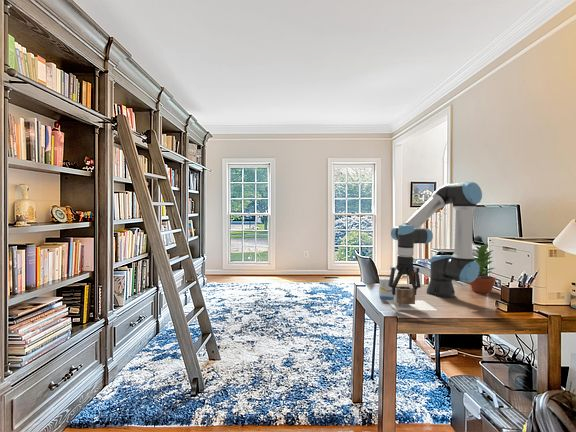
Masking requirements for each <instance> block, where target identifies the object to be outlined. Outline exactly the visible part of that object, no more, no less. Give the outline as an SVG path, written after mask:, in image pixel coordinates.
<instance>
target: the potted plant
mask: <svg viewBox="0 0 576 432" xmlns="http://www.w3.org/2000/svg"><path fill="white" fill-rule="evenodd" d="M488 247H489V243H487V244H481V245H480V246H477V245H475V248H476V249H477V250H476V249H474V252H476V253H477V255H476V254H475V253H474V252H472V255H473V256H474V255H475V256H474V257H475V262H477V263H478V265H479V268H480V271H479V275H478V277H477V278H476V279H475V280H474V281H473V282H470V285H471V291H472V292H474V293H475V292H476V293H480V294H491V293H492V291H493V288H494V284H495V282H496V279H497V278H496V277H494V276H490V275H488V274H490V273H491V272H493V270H494V269H496V267H490V268H485V267H486V266H488V265H490V264H492V262H494V260H490V259H492V258H493V256H491V255H492V252H494V250H495V249H494V250H493V249H492V250H489V251H487V250H488Z"/></svg>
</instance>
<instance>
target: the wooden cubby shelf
mask: <svg viewBox="0 0 576 432" xmlns="http://www.w3.org/2000/svg"><path fill="white" fill-rule="evenodd" d="M396 288H397V303H398V304H415V300H416V295H415V289H413V287H411V286H409V285H397V286H396ZM393 300H394V295H393Z"/></svg>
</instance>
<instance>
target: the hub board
mask: <svg viewBox="0 0 576 432" xmlns="http://www.w3.org/2000/svg"><path fill="white" fill-rule="evenodd" d="M385 301H386V302H387V303H388V304H389V305H390V306H392V307H391V309H392V310H393V311H394V312H395V313H404V311H436V312H437V311H438V309H436V308H435V307H434V306H432V305H430V304H429V303H427V302H426V301H425V300H418V299H417V300H416V299H415V304H398V303H397V302H395V301H394V300H392V299H385Z"/></svg>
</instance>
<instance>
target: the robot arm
mask: <svg viewBox="0 0 576 432" xmlns="http://www.w3.org/2000/svg"><path fill="white" fill-rule="evenodd" d="M482 198H483V192H482V188H481V187H480V186H479V184H478V183H477V182H474V181H464V182H448V183H446V184H444V185H441V186H440V187H438V188H437V189H436V190H434V191H433V192H432V193H431V194H430V195H429V196H428V199H427V200H426V202H424V203H423V204H422V205H421V206H420V207H419V208H418V209H417V210H416V211H415V212H414V213H412V214H411V215H410V216H409V217H408V218H407V219H405V220H404V222H403V223H402V224H399V225H398V226H394V227H392V229H391V231H390V236H391V238H392V239H393V240H395V241H397V253H396V255H397V256H396V257H397V259H396V262H397V263H396V265H395V266H390V276H389V277H390V279H389V284H388V286H389V287H392V294H393V295H394V301H395V302H397V288H396V286H398V284H399V282H400V280H401V278H402V276H404V275H406V276H408V279H409V281H410V283H411V284H410V285H411V286H412V288H413V289H415V296H417V292H418V291H417V290H418V289H420V288H421V287H422V286H421V280H420V273H419V272H420V268H419V267H417V266H414V247H415V245H416V244H425V245H426V244H429V243H431V242H432V240H433V238H434V237H433V231H432V230H431V229H430V228H425V227H424V228H423V227H422V226H423V225H424V223H426V222H427V221H428V220H429V218H431V217H432V216H433V215H434V214H435V213H436V212H437V211H438V210H439V209H442V208H443V207H445V206H447V205H448V204H450V205H451V204H452V208H453V209H454V210H455V220H454V221H455V222H454V223H455V225H454V251H453V254H452V255H450V254H444V255H443V254H440V255H432V256H431V258H430V279H429V283H428V284H427V288H426V294H427V295H429V296H433V297H436V298H437V297H438V298H445V299H446V298H455V296H456V292H455V291H456V290H455V289H454V288H455V287H454V285H453V280H455V281H459V282H462V283H471V282H473V281H474V280H475V279H476V278H477V277H478V275H480V273H479V271H480V268H479V265H478V263H477V262H476V261H475V259H476V256H474V254H473V233H474V230H473V227H474V210H476V208H477V204H479V203H480V202H481V200H483V199H482ZM421 227H422V228H421ZM396 270H397V271H398V272H397V275H396V276H395V274H396ZM412 272H414V277H413V274H412ZM394 278H395V281H394V283H393V280H394Z"/></svg>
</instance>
